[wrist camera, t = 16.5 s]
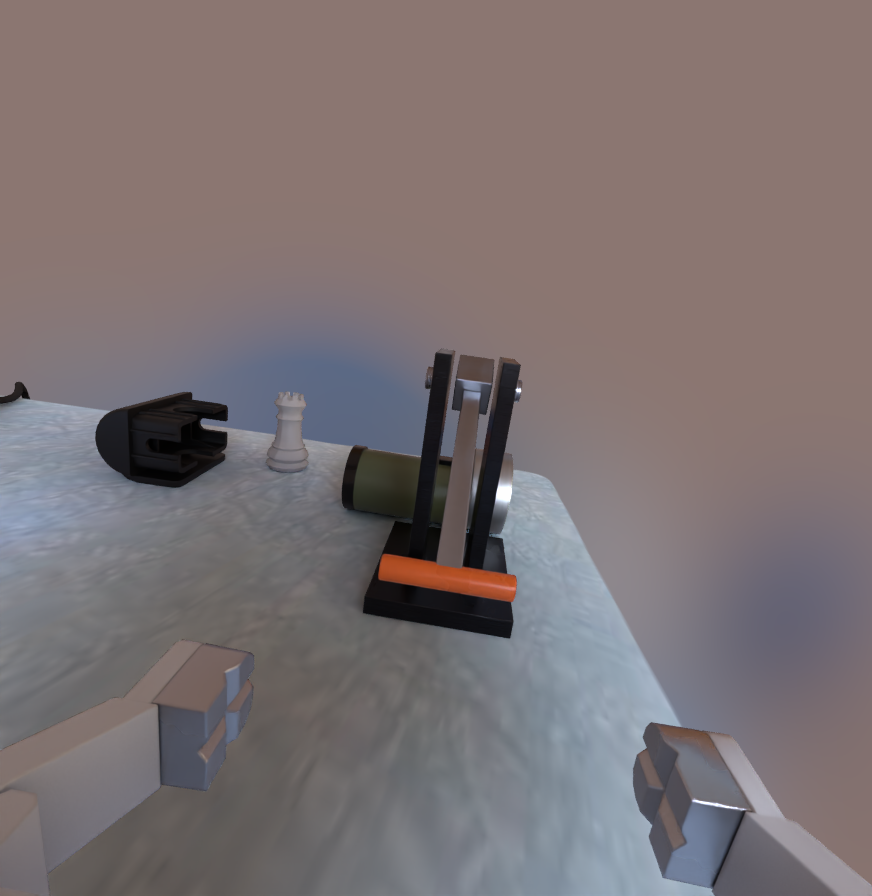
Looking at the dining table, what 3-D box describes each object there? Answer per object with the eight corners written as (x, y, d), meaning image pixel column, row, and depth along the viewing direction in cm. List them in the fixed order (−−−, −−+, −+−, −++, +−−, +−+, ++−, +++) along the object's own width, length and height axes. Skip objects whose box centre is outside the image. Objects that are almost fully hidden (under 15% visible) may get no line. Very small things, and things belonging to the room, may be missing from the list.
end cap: (164, 448, 50) (163, 387, 48) (228, 458, 50) (230, 397, 48) (96, 479, 41) (91, 404, 39) (175, 490, 41) (174, 416, 39)
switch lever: (508, 614, 19) (520, 585, 18) (378, 592, 20) (377, 561, 18) (513, 393, 31) (520, 363, 29) (431, 380, 31) (434, 350, 30)
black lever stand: (510, 638, 27) (566, 376, 23) (362, 613, 28) (391, 350, 24) (500, 551, 38) (537, 359, 34) (393, 533, 38) (417, 342, 34)
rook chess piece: (291, 476, 48) (296, 400, 45) (256, 466, 49) (259, 392, 47) (316, 465, 52) (321, 396, 50) (283, 457, 53) (286, 388, 51)
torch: (497, 514, 45) (510, 445, 44) (501, 548, 39) (517, 468, 37) (357, 492, 46) (364, 422, 44) (336, 521, 39) (343, 440, 37)
